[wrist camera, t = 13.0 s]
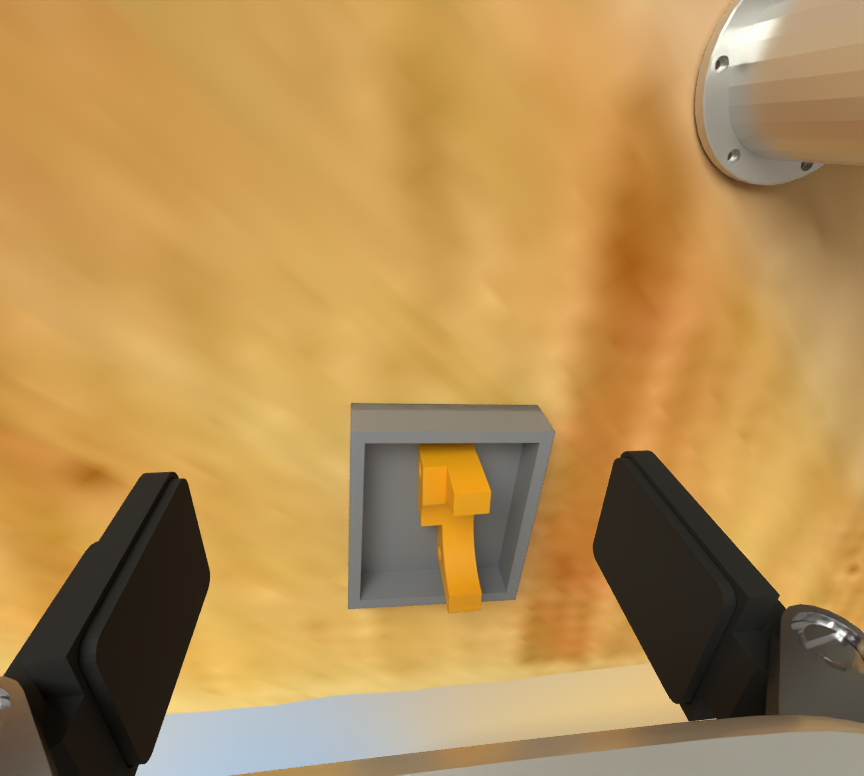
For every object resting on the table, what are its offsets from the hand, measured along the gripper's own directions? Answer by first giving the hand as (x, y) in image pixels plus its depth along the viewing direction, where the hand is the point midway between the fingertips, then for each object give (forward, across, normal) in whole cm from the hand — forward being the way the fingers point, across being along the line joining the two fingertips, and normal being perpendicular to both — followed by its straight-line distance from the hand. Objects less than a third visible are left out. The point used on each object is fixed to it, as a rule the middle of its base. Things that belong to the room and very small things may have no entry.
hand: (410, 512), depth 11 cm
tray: (+25, -5, +20) cm, 33 cm away
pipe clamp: (+24, -5, +20) cm, 32 cm away
